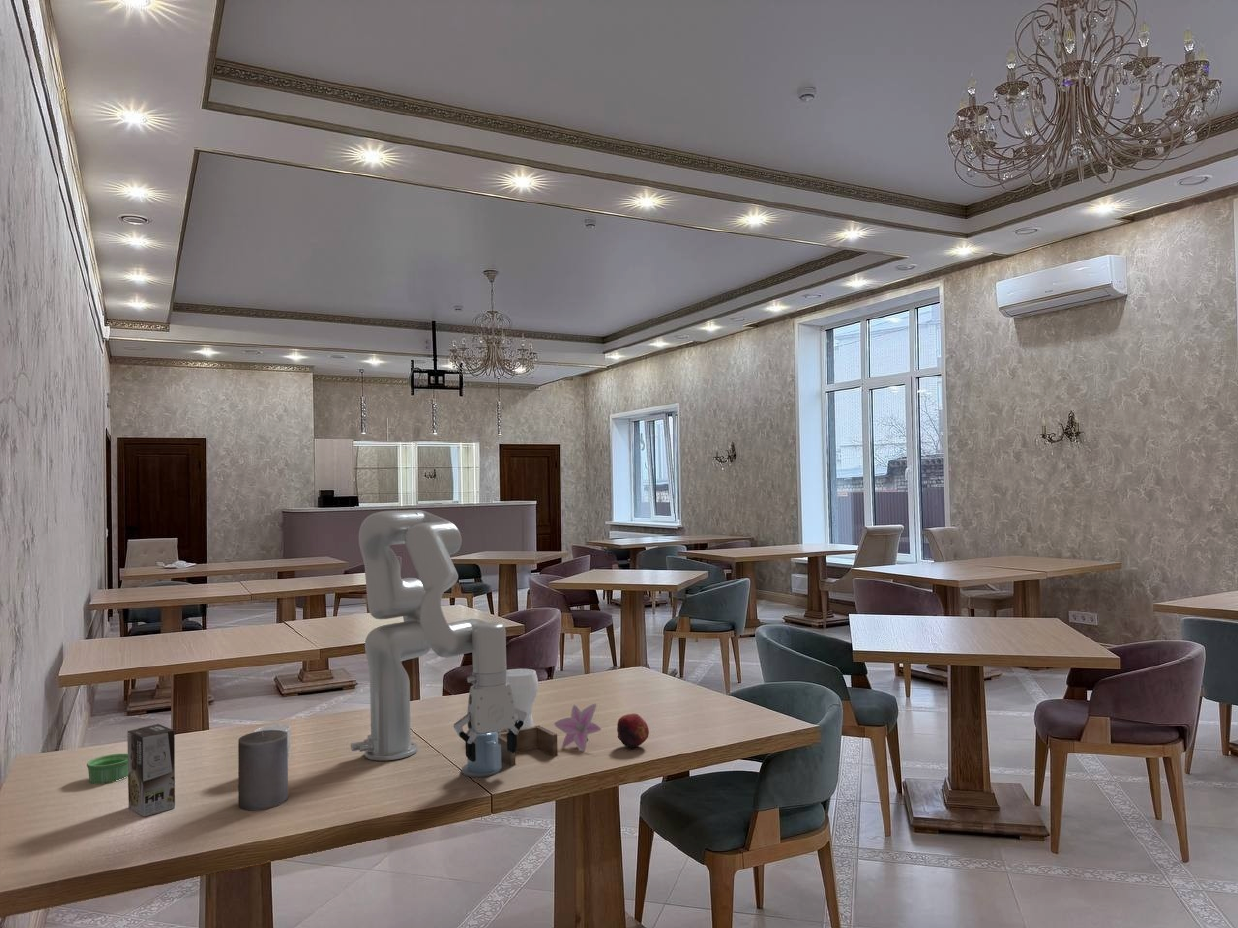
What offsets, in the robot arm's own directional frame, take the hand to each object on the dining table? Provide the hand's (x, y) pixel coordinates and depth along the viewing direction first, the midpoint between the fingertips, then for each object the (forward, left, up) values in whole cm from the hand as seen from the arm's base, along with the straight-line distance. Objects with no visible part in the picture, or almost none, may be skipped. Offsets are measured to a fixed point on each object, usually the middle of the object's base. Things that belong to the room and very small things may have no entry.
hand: (491, 755), depth 185 cm
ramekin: (-72, +55, -5) cm, 91 cm away
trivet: (0, +6, -5) cm, 8 cm away
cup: (+22, +32, -5) cm, 39 cm away
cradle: (+13, +10, -5) cm, 17 cm away
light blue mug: (0, +3, -4) cm, 5 cm away
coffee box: (-65, +27, -5) cm, 70 cm away
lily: (+27, +9, -5) cm, 29 cm away
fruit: (+37, -1, -5) cm, 37 cm away
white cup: (-40, +35, -5) cm, 53 cm away
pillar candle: (-45, +16, -5) cm, 48 cm away
